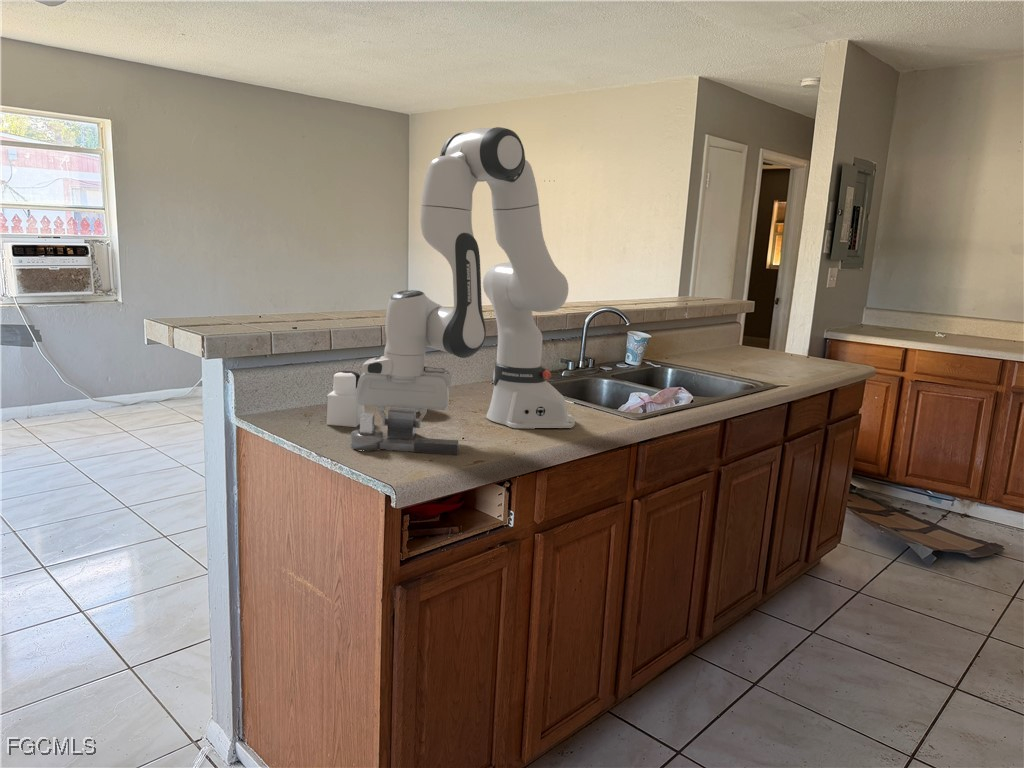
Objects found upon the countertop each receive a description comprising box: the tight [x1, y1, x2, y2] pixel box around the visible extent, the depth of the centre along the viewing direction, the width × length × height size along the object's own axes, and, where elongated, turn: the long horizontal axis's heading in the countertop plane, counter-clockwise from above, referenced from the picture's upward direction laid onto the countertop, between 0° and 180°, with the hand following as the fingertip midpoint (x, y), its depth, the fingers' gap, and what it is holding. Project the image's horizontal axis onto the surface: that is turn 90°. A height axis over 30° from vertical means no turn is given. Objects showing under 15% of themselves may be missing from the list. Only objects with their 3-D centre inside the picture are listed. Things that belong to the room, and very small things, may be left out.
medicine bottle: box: [325, 370, 366, 428], centre depth 159 cm, size 7×7×12 cm
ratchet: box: [350, 412, 459, 456], centre depth 143 cm, size 22×6×7 cm, turn 92°
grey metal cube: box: [386, 407, 417, 441], centre depth 153 cm, size 6×6×6 cm
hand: (401, 426), depth 153 cm, fingers closed on grey metal cube, 5 cm apart
